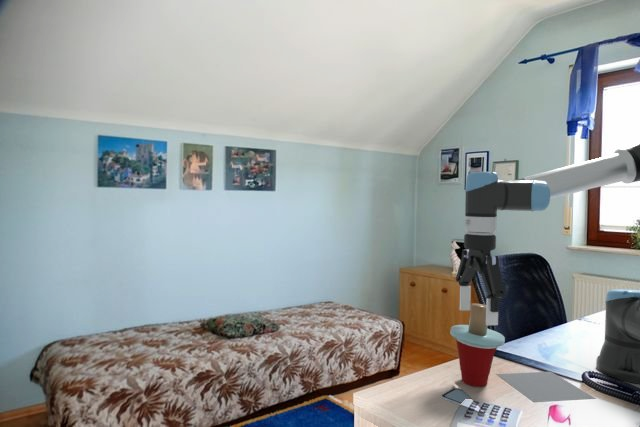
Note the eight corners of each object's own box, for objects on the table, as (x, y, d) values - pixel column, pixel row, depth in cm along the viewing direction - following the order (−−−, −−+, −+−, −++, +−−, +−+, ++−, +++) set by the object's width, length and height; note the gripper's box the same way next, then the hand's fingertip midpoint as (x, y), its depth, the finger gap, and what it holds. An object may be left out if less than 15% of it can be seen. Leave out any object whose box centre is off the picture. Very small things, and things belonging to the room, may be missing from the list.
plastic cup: (502, 395, 106) (503, 346, 106) (455, 391, 108) (456, 342, 108) (494, 377, 117) (495, 332, 116) (451, 373, 119) (452, 329, 118)
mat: (550, 373, 120) (550, 371, 120) (595, 400, 104) (595, 398, 104) (496, 376, 118) (496, 374, 118) (533, 404, 102) (533, 401, 102)
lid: (487, 330, 119) (490, 300, 119) (515, 347, 107) (519, 314, 106) (442, 328, 117) (445, 297, 117) (464, 345, 105) (468, 311, 104)
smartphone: (455, 387, 110) (516, 407, 99) (455, 390, 110) (516, 411, 99) (439, 395, 105) (501, 418, 94) (439, 399, 105) (501, 422, 94)
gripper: (444, 229, 123) (442, 305, 124) (492, 238, 98) (489, 332, 99) (470, 229, 124) (467, 304, 125) (523, 238, 99) (520, 331, 100)
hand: (477, 317), depth 112 cm, fingers open, 13 cm apart
